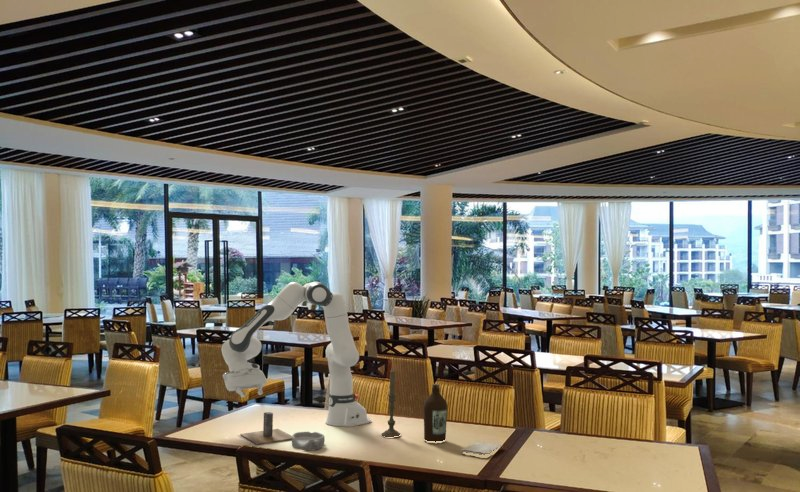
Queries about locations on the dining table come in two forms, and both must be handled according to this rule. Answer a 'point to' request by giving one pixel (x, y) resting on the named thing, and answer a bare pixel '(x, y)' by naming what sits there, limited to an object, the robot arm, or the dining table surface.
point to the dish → (308, 440)
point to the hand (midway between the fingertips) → (252, 395)
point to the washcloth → (480, 448)
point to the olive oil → (435, 416)
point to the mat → (260, 445)
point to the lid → (267, 433)
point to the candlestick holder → (391, 408)
